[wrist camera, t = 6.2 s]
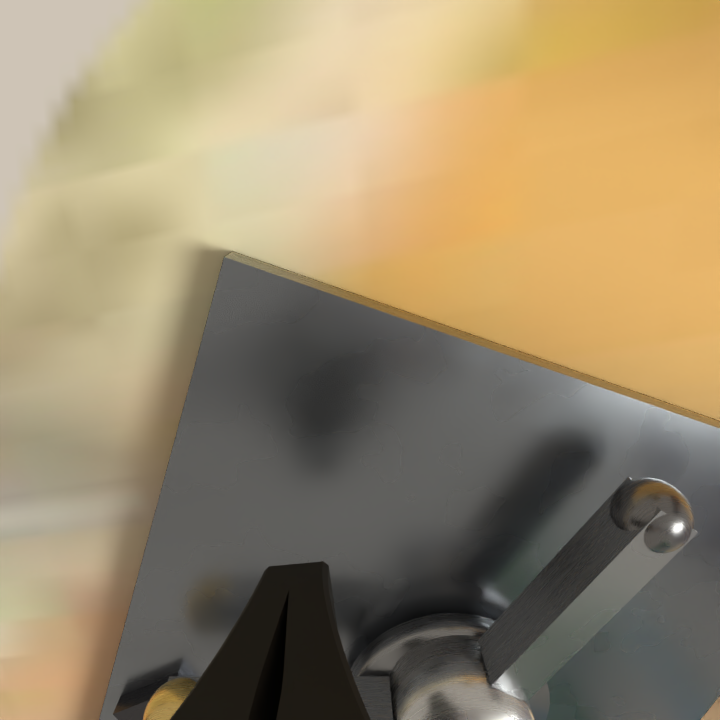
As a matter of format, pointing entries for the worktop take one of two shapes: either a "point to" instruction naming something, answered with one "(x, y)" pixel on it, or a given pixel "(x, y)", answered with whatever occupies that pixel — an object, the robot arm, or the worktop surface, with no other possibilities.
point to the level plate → (411, 493)
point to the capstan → (513, 623)
